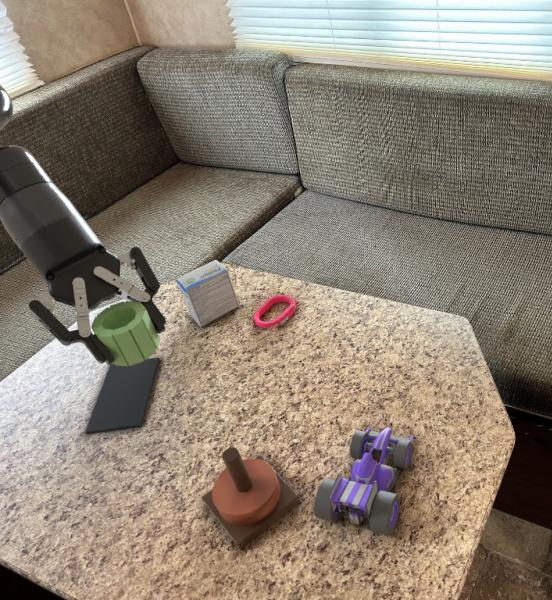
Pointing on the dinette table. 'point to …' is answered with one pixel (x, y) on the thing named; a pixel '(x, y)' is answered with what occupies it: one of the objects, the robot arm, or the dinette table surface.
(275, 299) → the fitness band
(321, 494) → the toy race car
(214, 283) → the medicine box
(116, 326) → the green ring
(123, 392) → the mat
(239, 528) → the stand
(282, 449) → the dinette table surface
